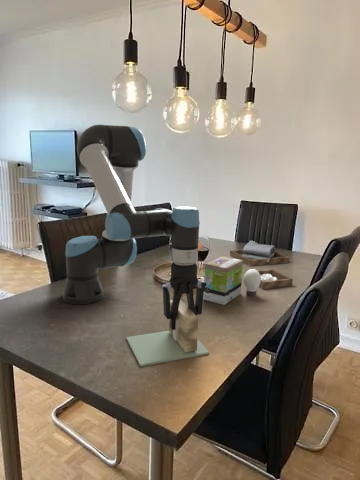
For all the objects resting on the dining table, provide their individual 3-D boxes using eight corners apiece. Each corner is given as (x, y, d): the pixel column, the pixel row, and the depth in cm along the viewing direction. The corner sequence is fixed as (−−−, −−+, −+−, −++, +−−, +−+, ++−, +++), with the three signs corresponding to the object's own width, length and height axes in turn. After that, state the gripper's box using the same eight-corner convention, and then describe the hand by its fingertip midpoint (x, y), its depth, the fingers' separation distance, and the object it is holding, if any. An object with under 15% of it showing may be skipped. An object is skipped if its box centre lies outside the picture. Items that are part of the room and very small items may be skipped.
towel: (241, 260, 199) (242, 246, 197) (248, 252, 215) (249, 239, 214) (270, 264, 193) (271, 249, 192) (275, 255, 210) (276, 242, 208)
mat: (140, 366, 98) (140, 364, 98) (126, 338, 113) (126, 337, 113) (209, 353, 106) (209, 352, 105) (187, 329, 120) (187, 327, 120)
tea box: (225, 305, 140) (227, 268, 137) (202, 300, 145) (203, 263, 142) (241, 294, 152) (243, 259, 149) (219, 289, 157) (221, 255, 154)
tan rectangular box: (185, 352, 104) (186, 319, 102) (168, 330, 116) (169, 300, 114) (197, 350, 105) (198, 317, 103) (179, 328, 118) (180, 299, 116)
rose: (283, 275, 164) (270, 279, 158) (282, 284, 165) (269, 289, 159) (264, 269, 171) (251, 273, 165) (264, 278, 172) (250, 283, 166)
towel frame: (249, 266, 191) (250, 260, 190) (229, 255, 210) (230, 250, 209) (288, 262, 199) (289, 257, 199) (266, 252, 218) (266, 247, 218)
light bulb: (245, 298, 147) (247, 271, 145) (240, 292, 154) (242, 266, 151) (262, 298, 148) (264, 271, 146) (256, 291, 155) (258, 266, 152)
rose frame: (262, 289, 158) (263, 282, 157) (244, 278, 172) (244, 272, 171) (292, 285, 164) (292, 279, 163) (272, 275, 177) (272, 269, 176)
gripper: (160, 268, 99) (159, 348, 104) (216, 263, 105) (213, 339, 110) (152, 260, 106) (151, 336, 111) (205, 256, 112) (202, 328, 117)
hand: (182, 337), depth 111 cm, fingers closed on tan rectangular box, 4 cm apart
